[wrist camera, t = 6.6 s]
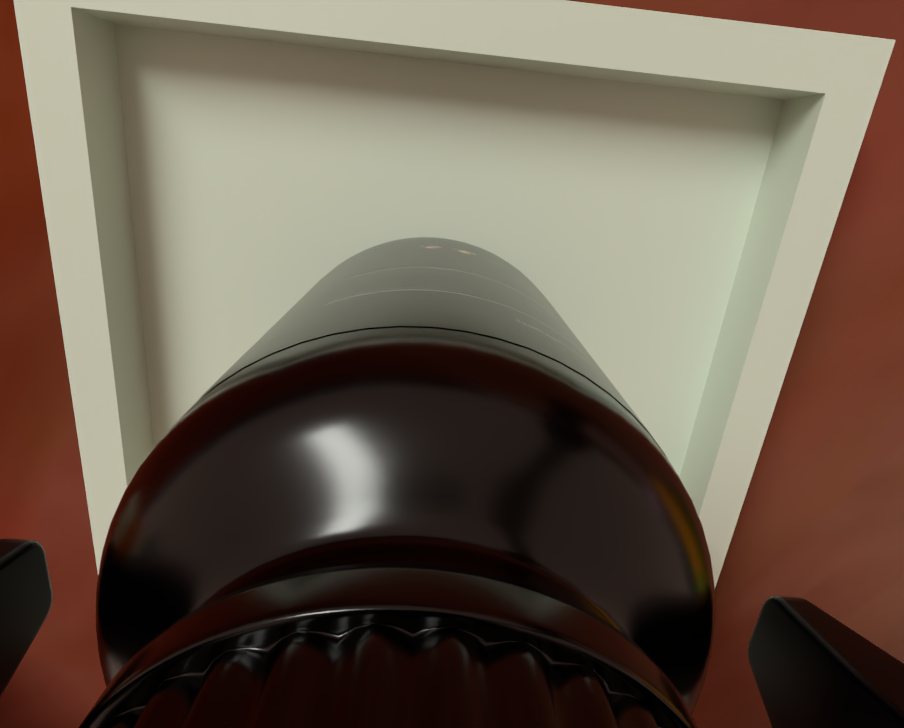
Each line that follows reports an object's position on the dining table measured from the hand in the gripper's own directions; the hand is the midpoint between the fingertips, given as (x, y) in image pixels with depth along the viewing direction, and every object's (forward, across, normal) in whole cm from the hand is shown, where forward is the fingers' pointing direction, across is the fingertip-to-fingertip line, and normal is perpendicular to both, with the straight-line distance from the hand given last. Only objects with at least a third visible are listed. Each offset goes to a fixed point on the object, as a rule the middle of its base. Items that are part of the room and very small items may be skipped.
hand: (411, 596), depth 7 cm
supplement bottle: (+8, 0, 0) cm, 8 cm away
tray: (+8, 0, 0) cm, 8 cm away
